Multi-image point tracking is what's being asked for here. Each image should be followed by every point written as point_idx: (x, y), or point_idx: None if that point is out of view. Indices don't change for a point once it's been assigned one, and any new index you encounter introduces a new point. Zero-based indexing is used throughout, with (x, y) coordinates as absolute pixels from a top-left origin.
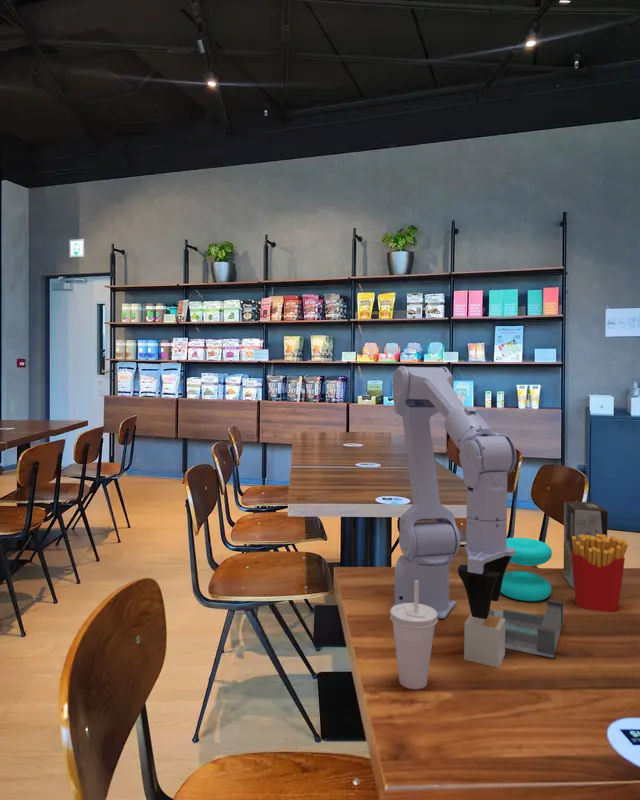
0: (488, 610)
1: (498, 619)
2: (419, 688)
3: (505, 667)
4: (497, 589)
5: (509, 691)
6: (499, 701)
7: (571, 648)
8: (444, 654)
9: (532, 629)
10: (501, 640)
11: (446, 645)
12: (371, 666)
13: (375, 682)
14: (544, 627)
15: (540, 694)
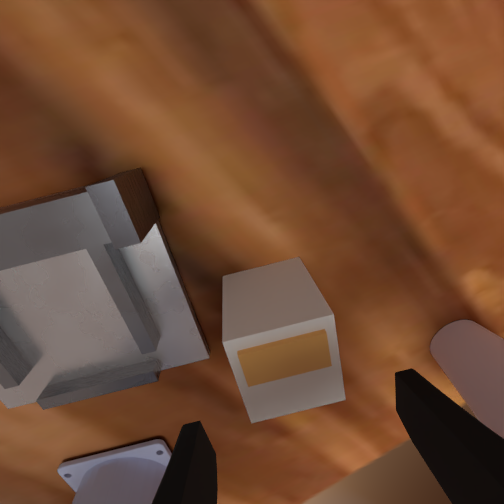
0: (444, 395)
1: (261, 352)
2: (475, 322)
3: (287, 246)
4: (192, 480)
5: (398, 189)
6: (453, 187)
7: (16, 151)
8: None
9: (24, 286)
10: (282, 295)
11: None
12: None
13: None
14: (82, 235)
15: (372, 120)
